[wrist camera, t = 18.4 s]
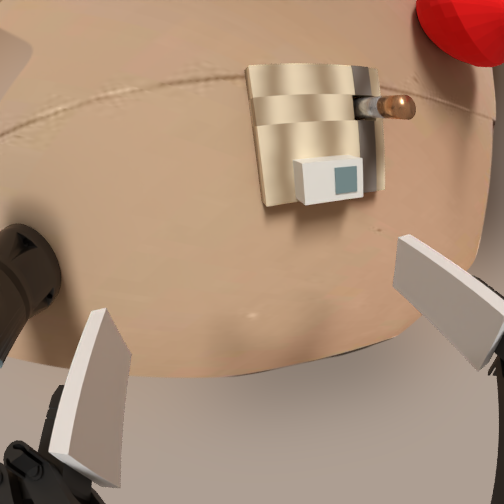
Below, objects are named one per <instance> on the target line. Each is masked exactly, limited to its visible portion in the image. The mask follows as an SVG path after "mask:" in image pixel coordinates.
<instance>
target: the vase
mask: <svg viewBox="0 0 504 504" xmlns="http://www.w3.org/2000/svg"><path fill="white" fill-rule="evenodd" d="M416 10H417V16H418V20H419V22H420V25H421V27H422V28H423V30H424V32H425V33H426V35H427V36H428V37H429V39H430V40H431V41H432V42H433V43H434V44H435V45H436V46H437V47H438V48H440V49H441V50H443V51H444V52H445V53H447V54H449V55H450V56H452V57H453V58H455V59H458V60H460V61H463V62H466V63H468V64H471V65H474V66H477V67H494V66H497V65H500V64H502V63H504V0H417V1H416Z"/></svg>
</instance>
